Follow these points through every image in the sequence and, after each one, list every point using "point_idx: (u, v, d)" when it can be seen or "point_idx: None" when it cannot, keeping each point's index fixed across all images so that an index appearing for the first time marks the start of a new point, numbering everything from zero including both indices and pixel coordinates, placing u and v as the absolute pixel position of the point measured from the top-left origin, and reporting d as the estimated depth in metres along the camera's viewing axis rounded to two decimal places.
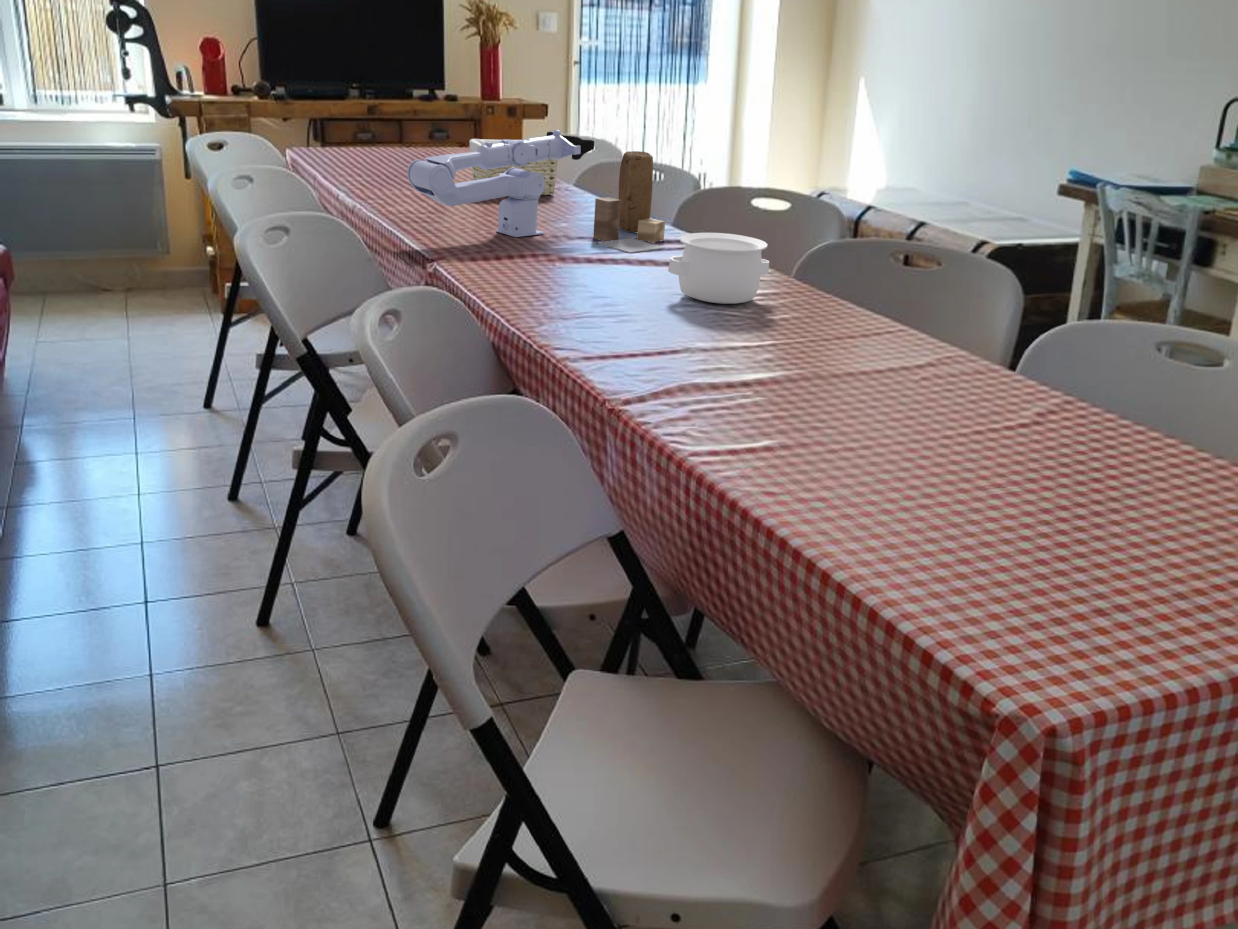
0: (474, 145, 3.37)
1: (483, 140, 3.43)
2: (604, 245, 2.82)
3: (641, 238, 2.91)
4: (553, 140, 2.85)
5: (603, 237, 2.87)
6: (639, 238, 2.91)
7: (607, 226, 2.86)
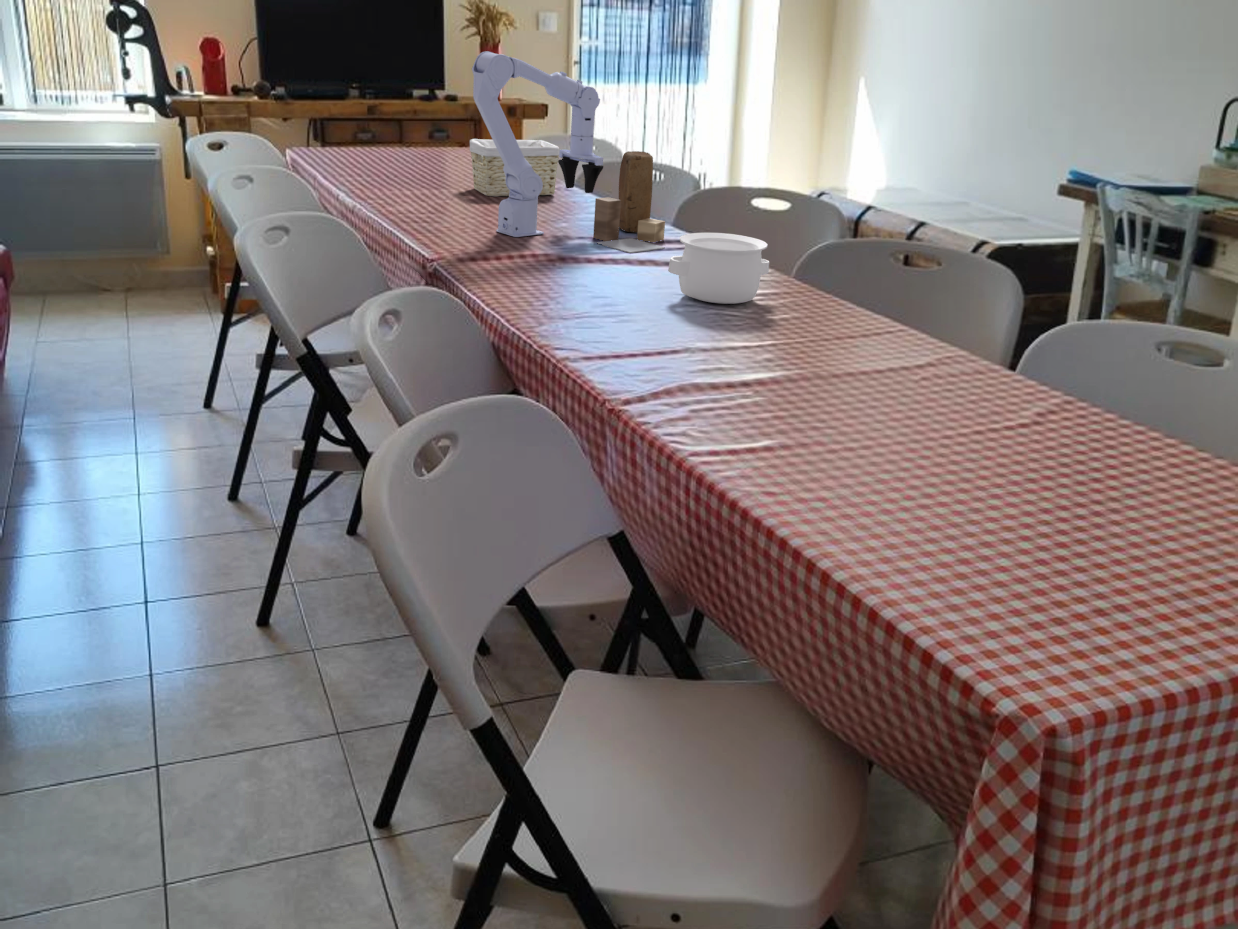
0: (474, 145, 3.37)
1: (483, 140, 3.43)
2: (604, 245, 2.82)
3: (641, 238, 2.91)
4: (592, 143, 2.89)
5: (603, 237, 2.87)
6: (639, 238, 2.91)
7: (607, 226, 2.86)
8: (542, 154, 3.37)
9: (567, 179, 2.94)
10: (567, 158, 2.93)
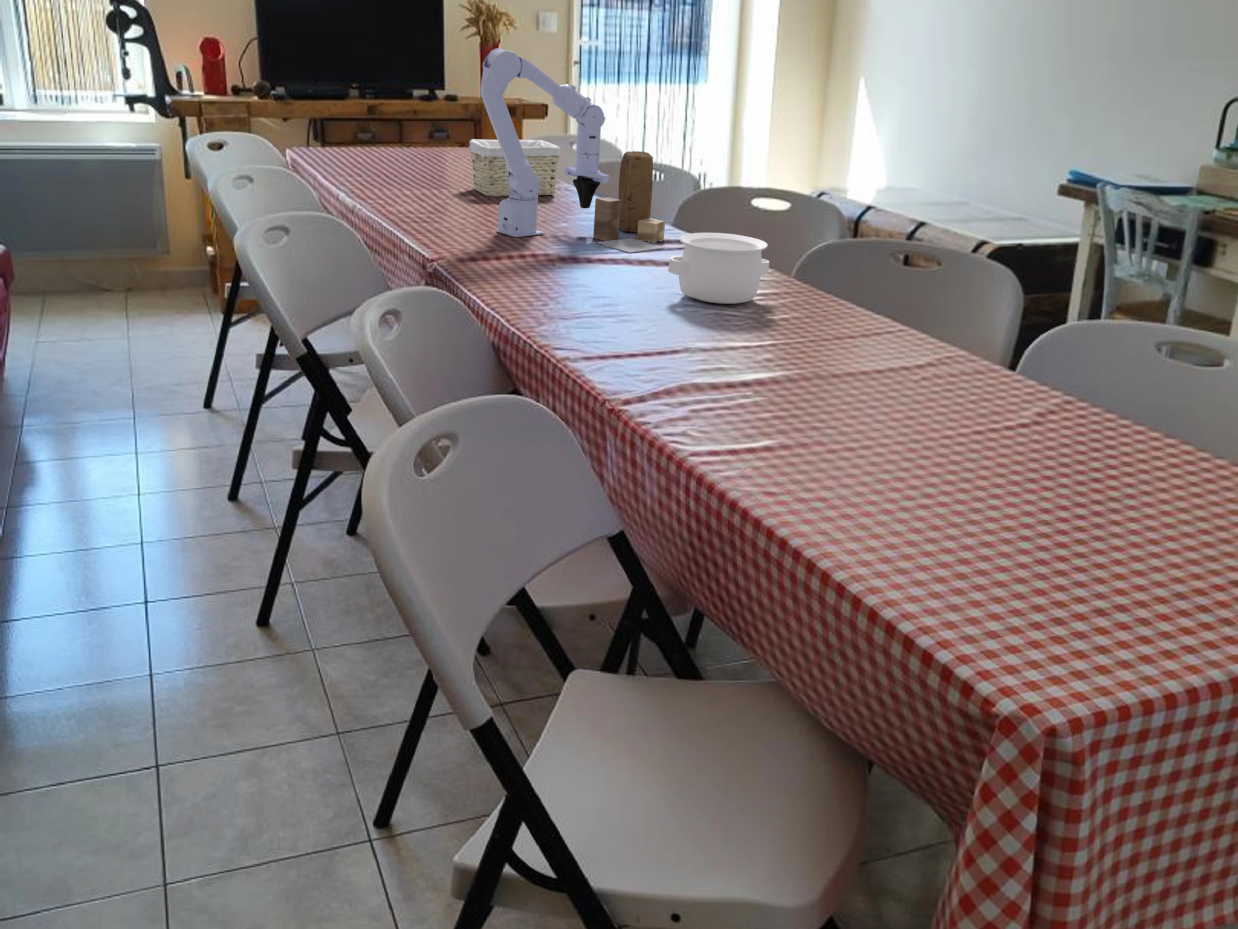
0: (475, 145, 3.36)
1: (483, 140, 3.42)
2: (604, 245, 2.82)
3: (641, 238, 2.91)
4: (598, 161, 2.89)
5: (603, 237, 2.87)
6: (639, 238, 2.91)
7: (607, 226, 2.86)
8: (543, 154, 3.37)
9: None
10: None
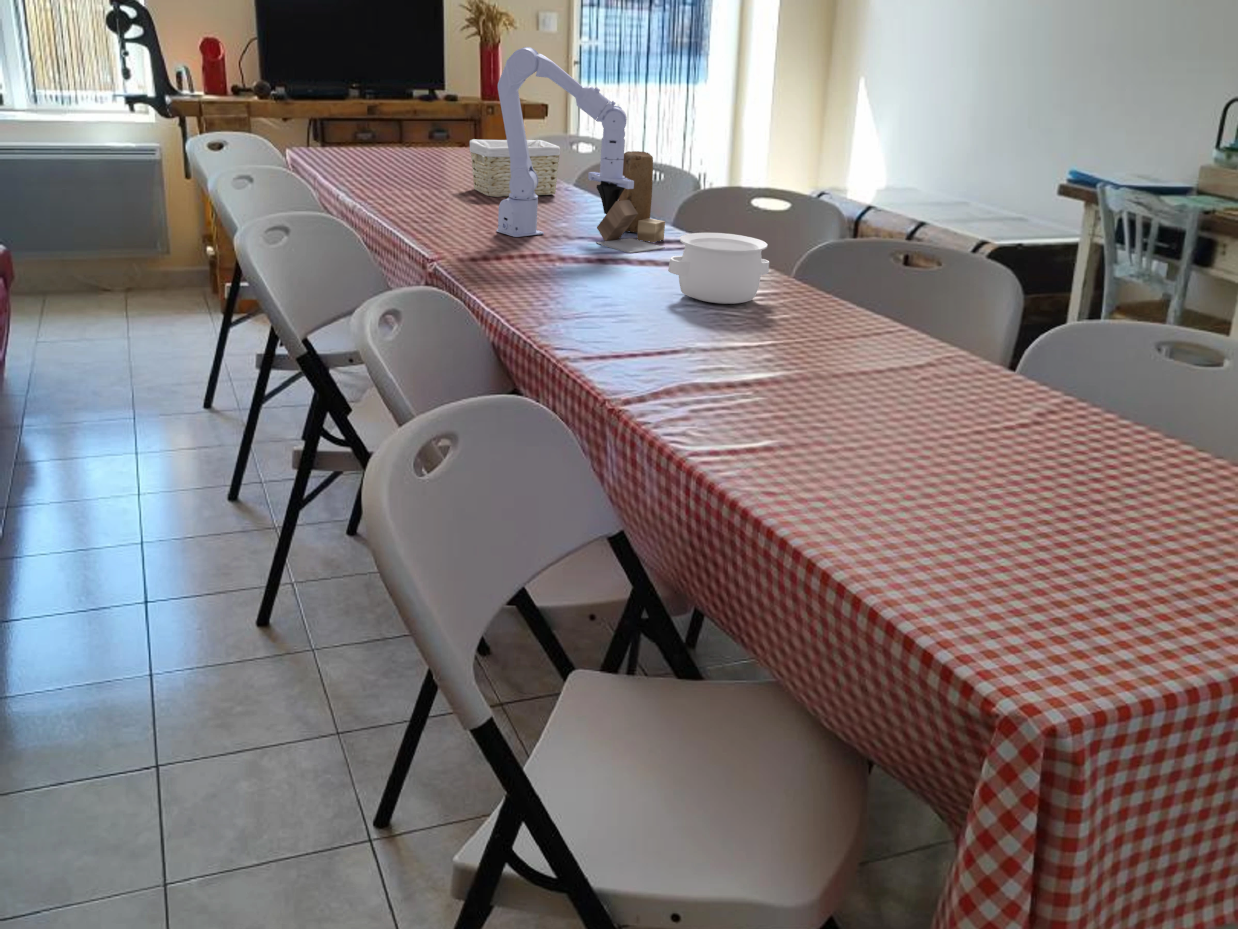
0: (475, 146, 3.36)
1: (483, 140, 3.42)
2: (604, 245, 2.82)
3: (641, 238, 2.91)
4: None
5: (605, 237, 2.87)
6: (639, 238, 2.91)
7: (613, 231, 2.85)
8: (543, 154, 3.37)
9: None
10: None
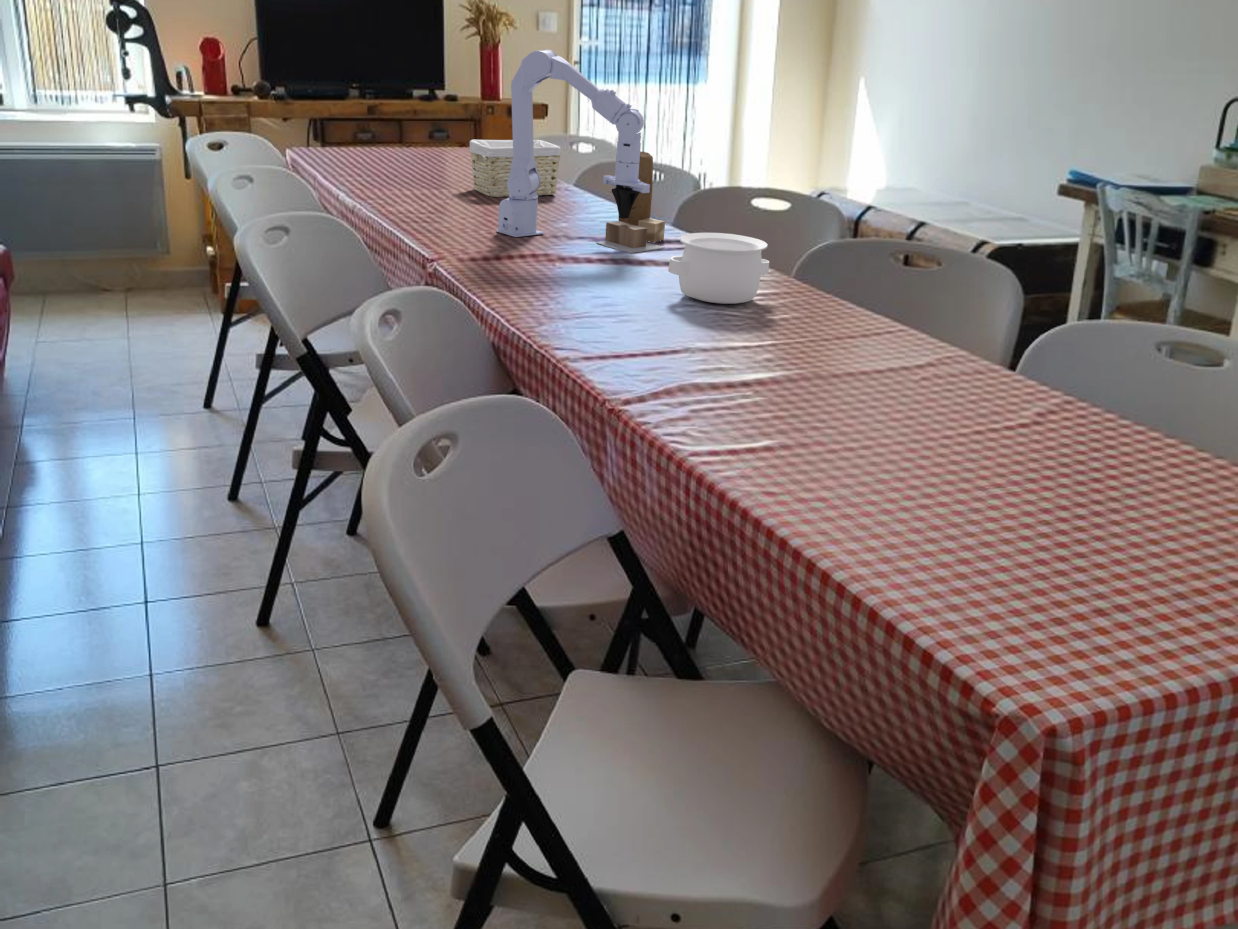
0: (476, 146, 3.36)
1: (483, 141, 3.42)
2: (604, 245, 2.82)
3: None
4: (638, 170, 2.79)
5: (607, 238, 2.86)
6: None
7: None
8: (544, 154, 3.37)
9: None
10: None
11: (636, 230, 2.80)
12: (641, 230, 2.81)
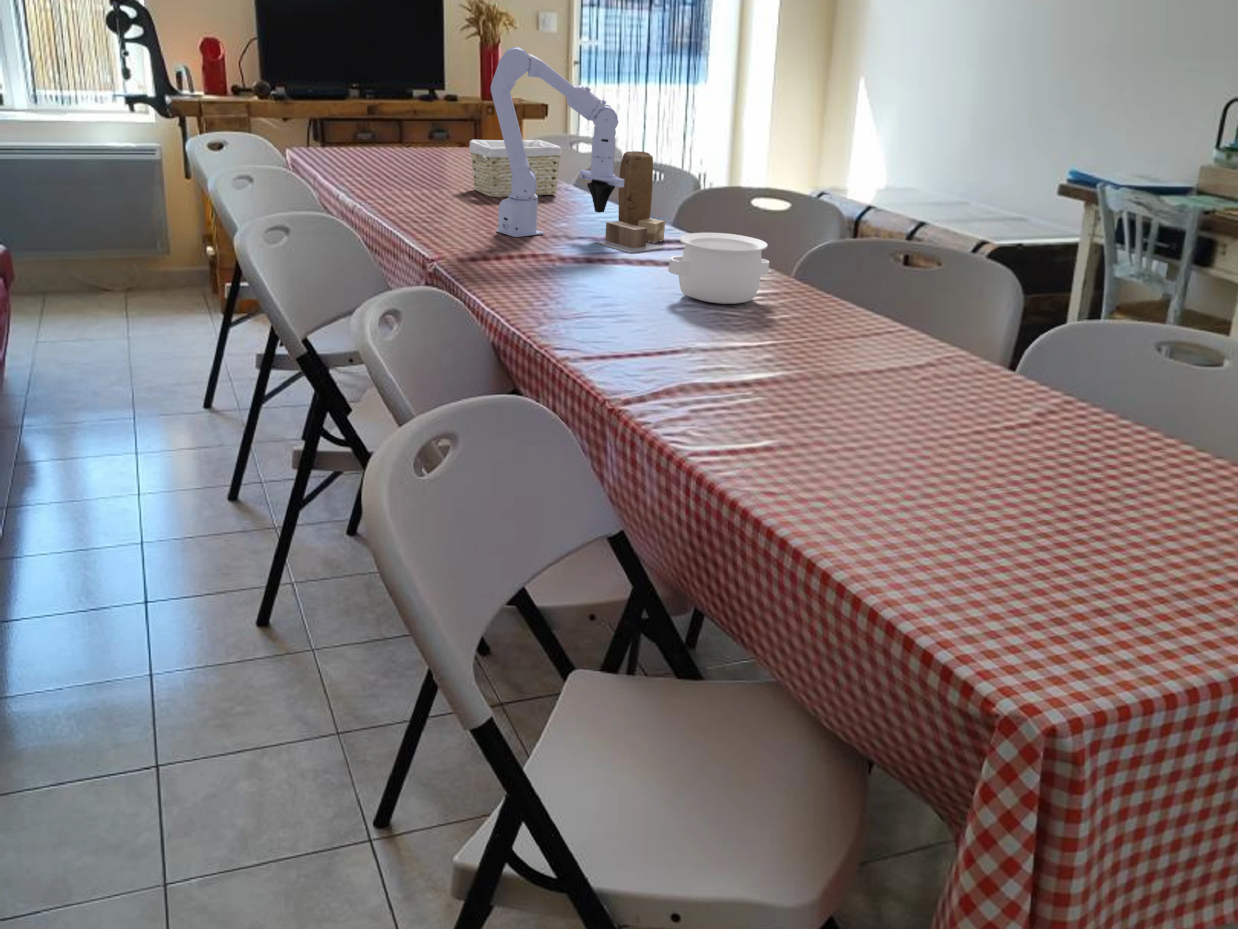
0: (476, 146, 3.35)
1: (483, 141, 3.41)
2: (604, 245, 2.82)
3: None
4: (613, 165, 2.85)
5: (607, 238, 2.86)
6: None
7: None
8: (545, 154, 3.37)
9: None
10: None
11: (636, 230, 2.80)
12: (641, 230, 2.81)
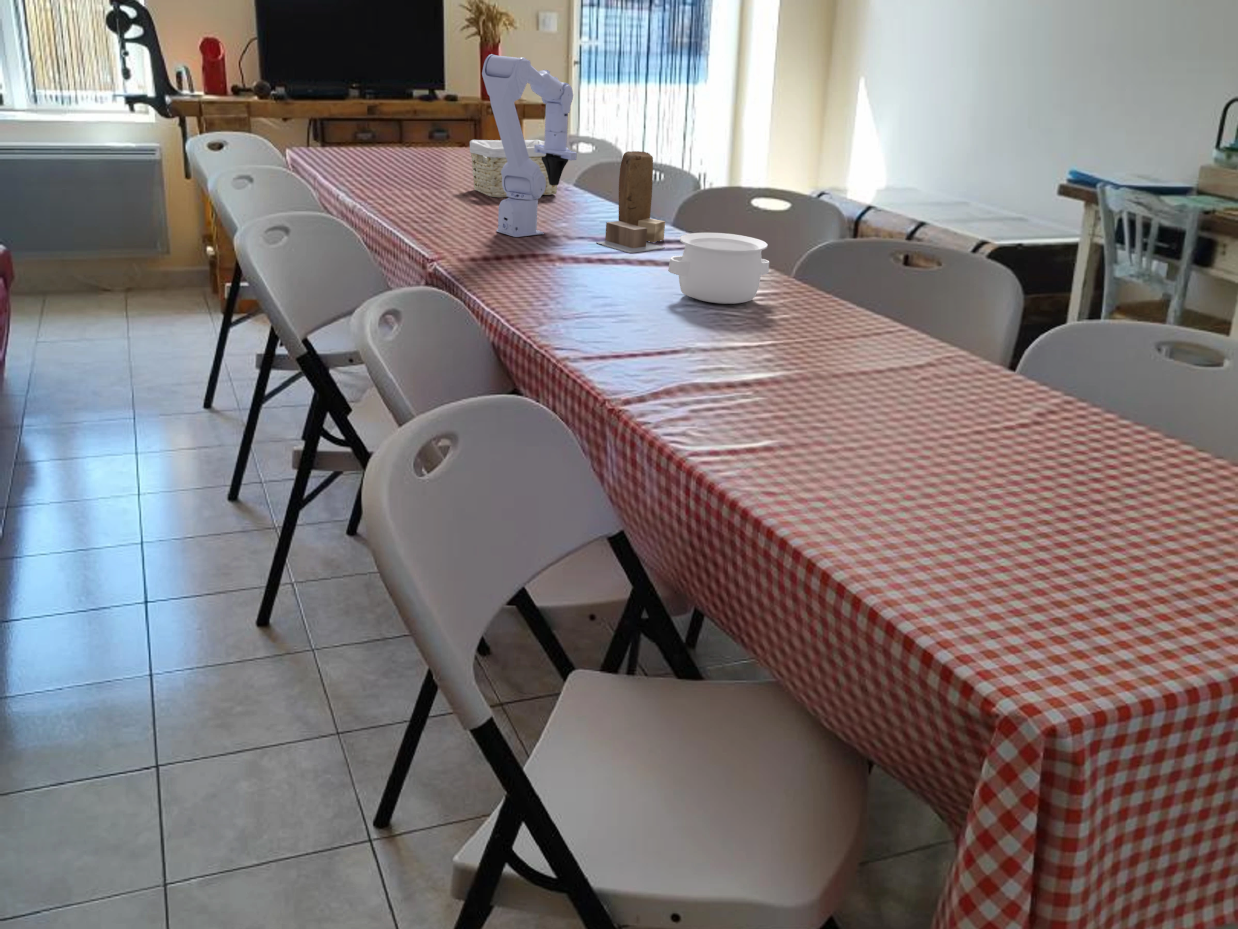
0: (477, 146, 3.35)
1: (483, 141, 3.41)
2: (604, 245, 2.82)
3: None
4: (566, 139, 2.94)
5: (607, 238, 2.86)
6: None
7: None
8: (545, 154, 3.37)
9: None
10: None
11: (636, 230, 2.80)
12: (641, 230, 2.81)
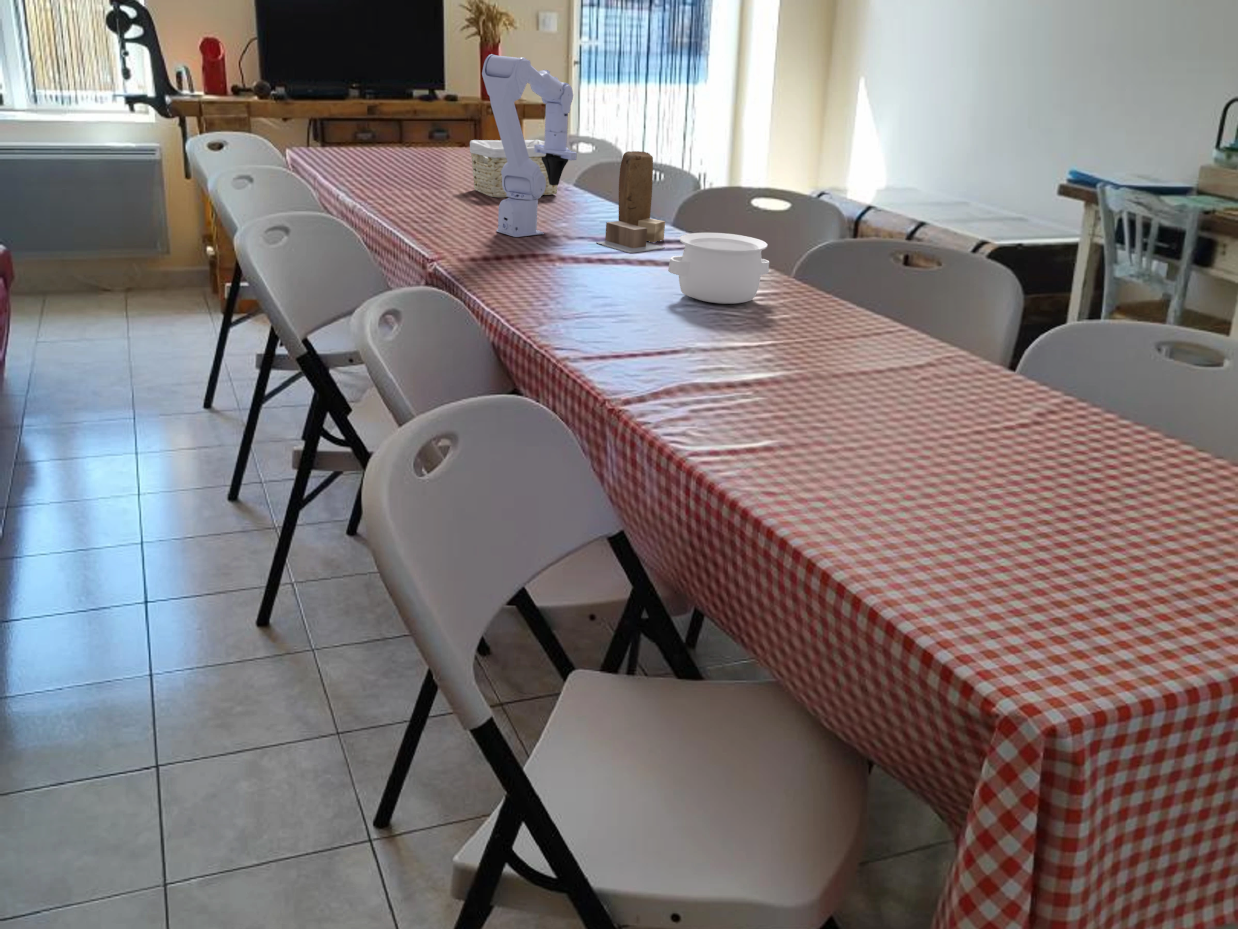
0: (477, 146, 3.35)
1: (483, 141, 3.41)
2: (604, 245, 2.82)
3: None
4: (566, 139, 2.94)
5: (607, 238, 2.86)
6: None
7: None
8: None
9: None
10: None
11: (636, 230, 2.80)
12: (641, 230, 2.81)
